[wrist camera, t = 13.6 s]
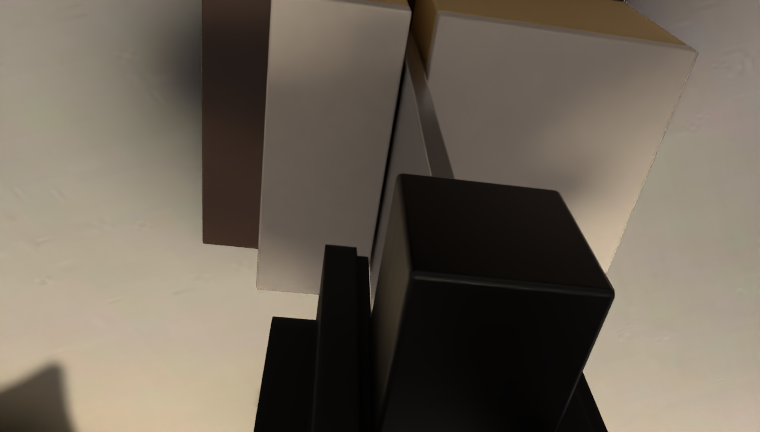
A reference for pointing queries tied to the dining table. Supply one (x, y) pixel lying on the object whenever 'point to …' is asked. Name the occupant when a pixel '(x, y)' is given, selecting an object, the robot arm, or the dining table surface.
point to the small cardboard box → (326, 132)
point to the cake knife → (473, 290)
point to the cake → (554, 99)
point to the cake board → (235, 117)
